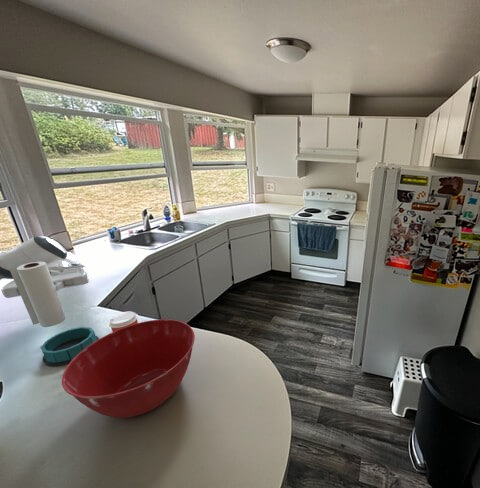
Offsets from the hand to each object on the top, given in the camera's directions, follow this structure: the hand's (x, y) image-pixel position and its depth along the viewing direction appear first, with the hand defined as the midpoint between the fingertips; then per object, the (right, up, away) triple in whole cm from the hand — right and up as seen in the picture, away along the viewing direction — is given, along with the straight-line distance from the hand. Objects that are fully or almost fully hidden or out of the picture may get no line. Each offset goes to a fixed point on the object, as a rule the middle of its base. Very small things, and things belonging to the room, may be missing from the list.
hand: (41, 293), depth 80 cm
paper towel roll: (-1, -11, +5) cm, 12 cm away
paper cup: (+24, -22, +7) cm, 33 cm away
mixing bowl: (+40, -28, -8) cm, 49 cm away
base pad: (+4, -21, +6) cm, 22 cm away
